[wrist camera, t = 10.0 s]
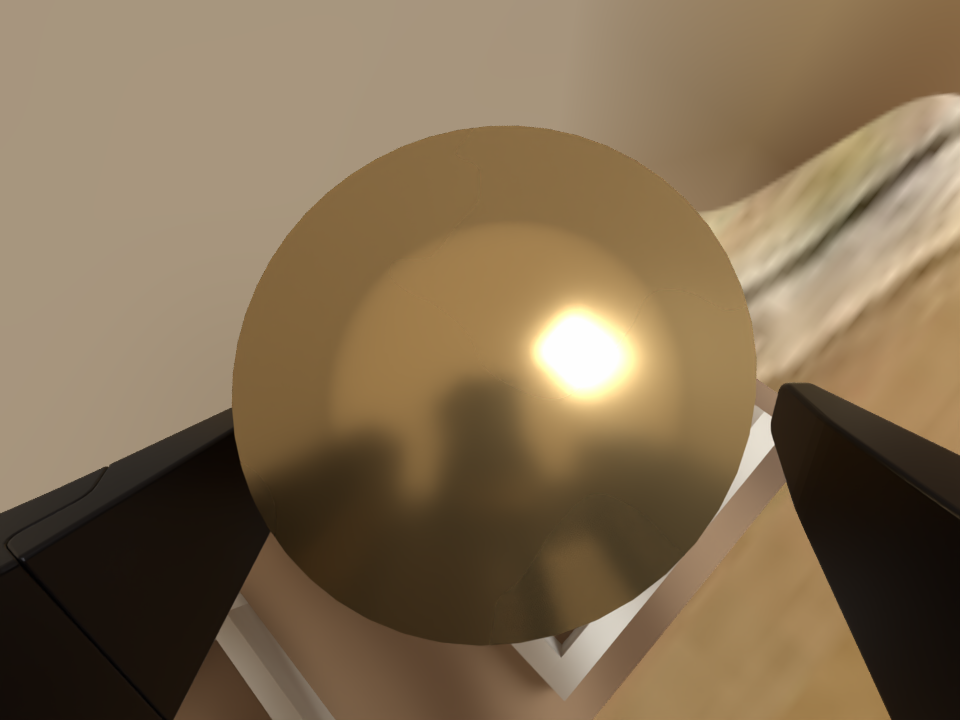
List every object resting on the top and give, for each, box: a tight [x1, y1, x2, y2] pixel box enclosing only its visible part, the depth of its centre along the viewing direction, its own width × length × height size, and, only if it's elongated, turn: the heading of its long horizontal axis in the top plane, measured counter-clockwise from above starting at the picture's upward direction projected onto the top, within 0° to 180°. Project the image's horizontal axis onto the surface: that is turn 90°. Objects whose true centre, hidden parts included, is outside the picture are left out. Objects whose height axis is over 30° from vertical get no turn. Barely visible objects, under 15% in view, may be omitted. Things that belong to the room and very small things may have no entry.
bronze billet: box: [232, 126, 756, 646], centre depth 11 cm, size 5×5×13 cm
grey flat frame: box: [174, 379, 786, 720], centre depth 16 cm, size 30×13×3 cm, turn 138°
